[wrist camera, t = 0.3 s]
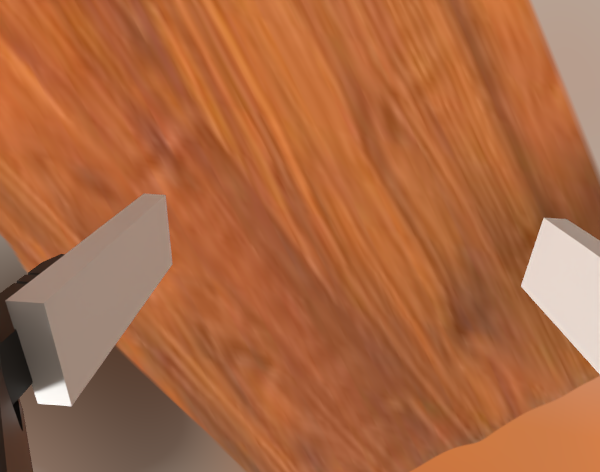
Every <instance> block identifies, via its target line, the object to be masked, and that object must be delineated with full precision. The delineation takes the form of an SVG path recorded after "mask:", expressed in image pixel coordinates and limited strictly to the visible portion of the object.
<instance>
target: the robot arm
mask: <svg viewBox="0 0 600 472" xmlns="http://www.w3.org/2000/svg"><path fill="white" fill-rule="evenodd" d="M171 265H172V255H171V245H170V235H169V225H168V215H167V205H166V195H157V194H143V195H141V196H140V197H139V198H138V199H136V200H135V201H134V202H132V203H131V204H130V205H129V206H127V207H126V208H125V209H123V210H122V211H121V212H119V213H118V214H117V215H116V216H114V217H113V218H112V219H110V220H109V221H108V222H106V223H105V224H104V225H103V226H101V227H100V228H99V229H97V230H96V231H95V232H94V233H92V234H91V235H90V236H88V237H87V238H86V239H84V240H83V241H82V242H81V243H79V244H78V245H77V246H75V247H74V248H73V249H72V250H70V251H69V252H68V253H66V254H60V255H58V256H56V257H53V258H51V259H49V260H47V261H44V262H42V263H41V264H39V265H38V266H37V267H35V268H34V269H33V270H31V271H30V272H28V275H24V276H23V277H22V278H20V279H19V280H18V281H17V283H14V284H12V285H11V286H10V287H8V288H7V289H5V290H4V291H3V292H2V293H0V472H33V468H32V462H31V456H30V450H29V444H28V438H27V432H26V426H25V420H24V414H23V408H22V406H21V403H20V400H19V398H20V396H21V395H22V394H23V393H24V392H25V391H26V390H27V389H28V387H29V386H30V385H31V384H32V387H33V390H34V393H35V396H36V399H37V402H38V404H49V405H63V406H64V405H65V406H72V405H73V403H74V402H75V401H76V399H77V398H78V396H79V395H80V394H81V392H82V390H83V389H84V388H85V386H86V385H87V384H88V382H89V381H90V379H91V378H92V377H93V375H94V374H95V372H96V371H97V370H98V368H99V367H100V365H101V364H102V362H103V361H104V360H105V358H106V357H107V355H108V354H109V353H110V351H111V350H112V348H113V347H114V346H115V344H116V343H117V341H118V340H119V339H120V337H121V336H122V334H123V333H124V332H125V330H126V329H127V327H128V326H129V325H130V323H131V322H132V320H133V319H134V318H135V316H136V315H137V313H138V312H139V310H140V309H141V308H142V306H143V305H144V303H145V302H146V301H147V299H148V298H149V296H150V295H151V294H152V292H153V291H154V289H155V288H156V287H157V285H158V284H159V282H160V281H161V279H162V278H163V277H164V275H165V274H166V272H167V271H168V270H169V268H170V267H171ZM521 287H522V288H523V289H524V290H525V291H526V292H527V294H528V295H529V296H530V297H531V298H532V299H533V300H534V301H535V303H536V304H537V305H538V306H539V307H540V308H541V309H542V310H543V311H544V313H545V314H546V315H547V316H548V317H549V318H550V319H551V320H552V322H553V323H554V324H555V325H556V326H557V327H558V328H559V329H560V330H561V332H562V333H563V334H564V335H565V336H566V337H567V338H568V339H569V341H570V342H571V343H572V344H573V345H574V346H575V347H576V348H577V349H578V351H579V352H580V353H581V354H582V355H583V356H584V357H585V358H586V360H587V361H588V362H589V363H590V364H591V365H592V366H593V367H594V368H595V370H596V371H597V372H598V373H599V374H600V241H599V240H598V239H596V238H595V237H593V236H592V235H590V234H589V233H587V232H585V231H584V230H582V229H581V228H579V227H578V226H576V225H575V224H573V223H571V222H570V221H568V220H567V219H555V218H544V219H543V222H542V225H541V228H540V231H539V234H538V237H537V240H536V243H535V246H534V249H533V252H532V255H531V258H530V261H529V264H528V267H527V270H526V273H525V276H524V279H523V282H522V285H521Z"/></svg>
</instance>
